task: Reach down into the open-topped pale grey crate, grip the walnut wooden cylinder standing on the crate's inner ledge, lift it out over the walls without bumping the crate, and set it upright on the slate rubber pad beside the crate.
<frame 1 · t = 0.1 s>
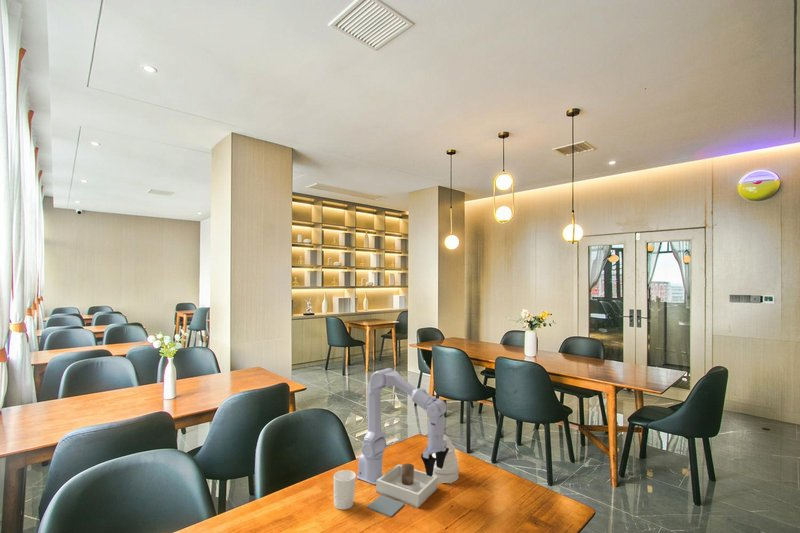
hand: (434, 471, 139), 10 cm above the table, tool pointing down, fingers open, 7 cm apart
walnut cylinder: (407, 482, 144), point 3 cm above the table, touching grey crate
grey crate: (407, 490, 144), on the table, touching walnut cylinder
white cup: (343, 505, 133), on the table
honey pot: (442, 476, 156), on the table
slate pad: (385, 506, 133), on the table
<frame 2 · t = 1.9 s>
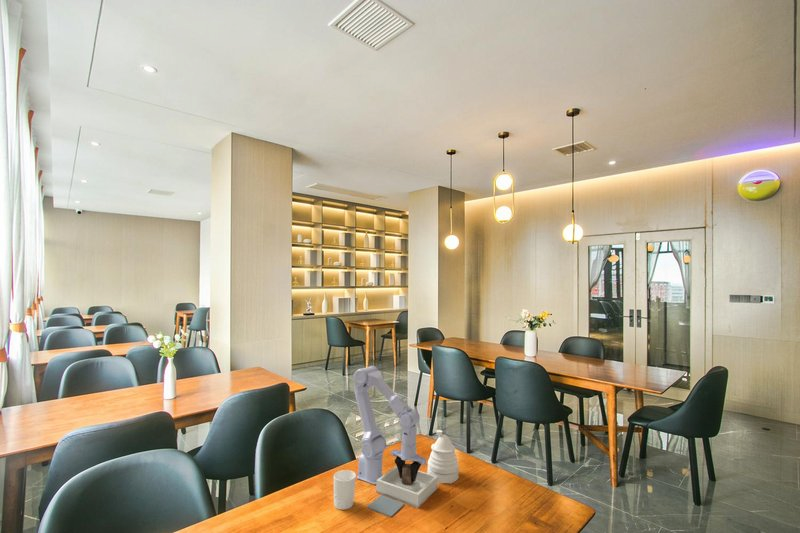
hand: (407, 479, 144), 4 cm above the table, tool pointing down, fingers closed on walnut cylinder, 4 cm apart
walnut cylinder: (407, 482, 144), point 3 cm above the table, touching grey crate, gripper
everything else where it was.
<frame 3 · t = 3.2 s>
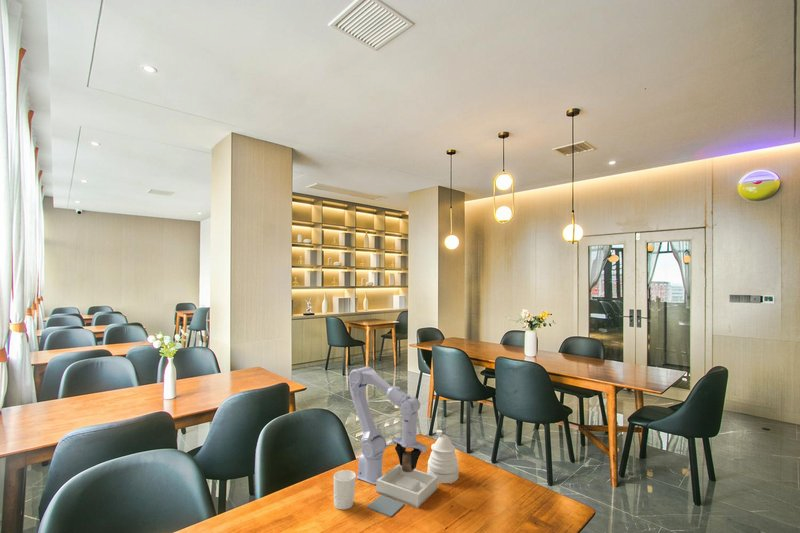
hand: (407, 466, 144), 9 cm above the table, tool pointing down, fingers closed on walnut cylinder, 4 cm apart
walnut cylinder: (407, 469, 144), point 8 cm above the table, touching gripper
grey crate: (407, 490, 144), on the table
everything else where it was.
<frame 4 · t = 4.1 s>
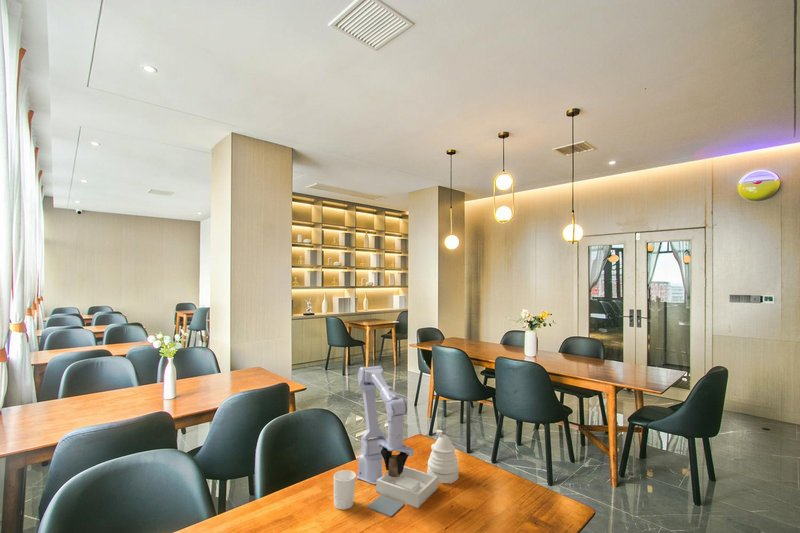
hand: (394, 471, 137), 10 cm above the table, tool pointing down, fingers closed on walnut cylinder, 4 cm apart
walnut cylinder: (394, 474, 137), point 9 cm above the table, touching gripper
everything else where it was.
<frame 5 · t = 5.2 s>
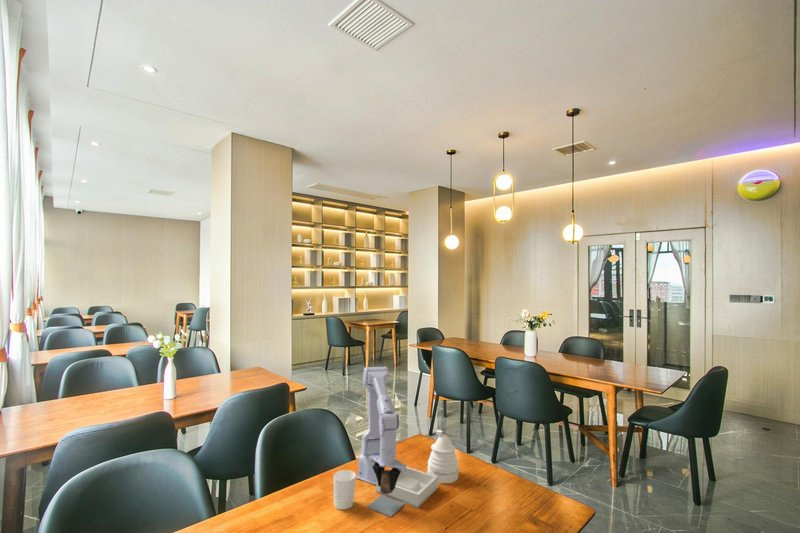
hand: (386, 487, 133), 7 cm above the table, tool pointing down, fingers closed on walnut cylinder, 4 cm apart
walnut cylinder: (386, 490, 133), point 5 cm above the table, touching gripper
everything else where it was.
when the fingers open (3 cm above the table, at t = 6.3 s): walnut cylinder drops 1 cm, resting on slate pad.
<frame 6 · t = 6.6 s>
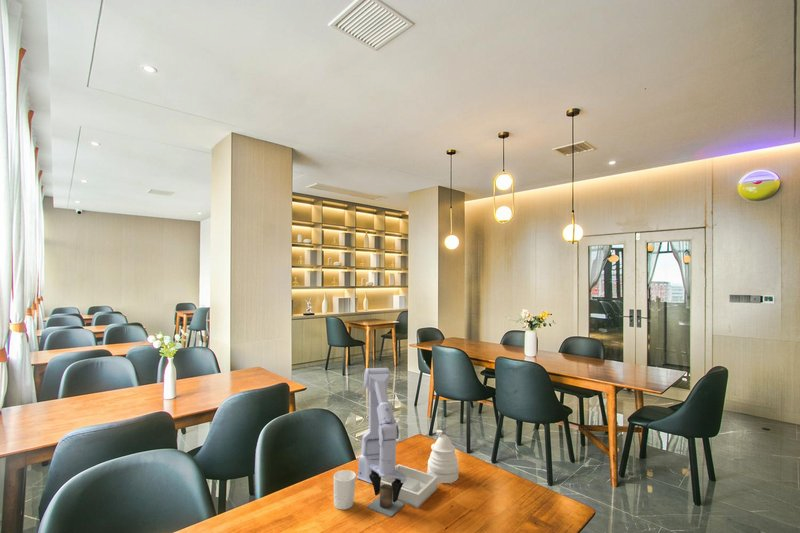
hand: (386, 497, 133), 3 cm above the table, tool pointing down, fingers open, 7 cm apart
walnut cylinder: (386, 504, 133), resting on slate pad
everything else where it was.
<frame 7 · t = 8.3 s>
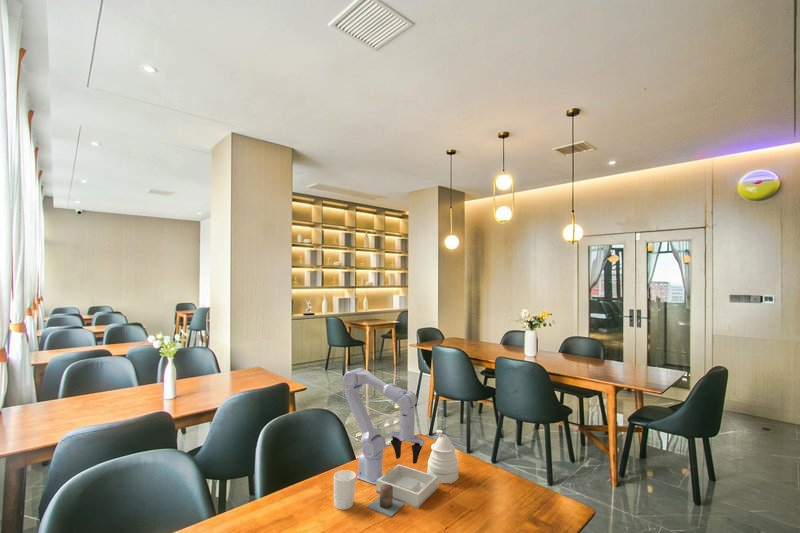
hand: (406, 460, 146), 10 cm above the table, tool pointing down, fingers open, 7 cm apart
nothing on the table moved.
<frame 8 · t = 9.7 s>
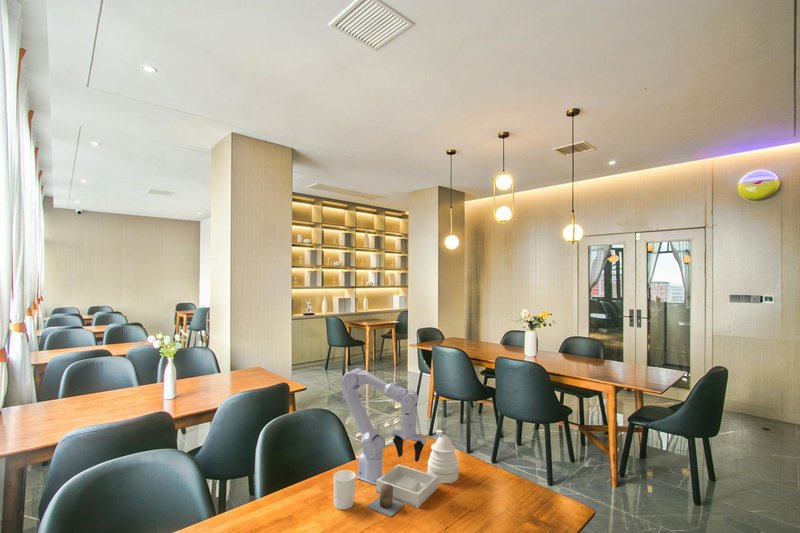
hand: (408, 458, 148), 10 cm above the table, tool pointing down, fingers open, 7 cm apart
nothing on the table moved.
at the end: walnut cylinder inside the target area (0.1 cm from its centre), resting on slate pad; walnut cylinder tilted 1°; grey crate moved 0.0 cm from its start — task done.
